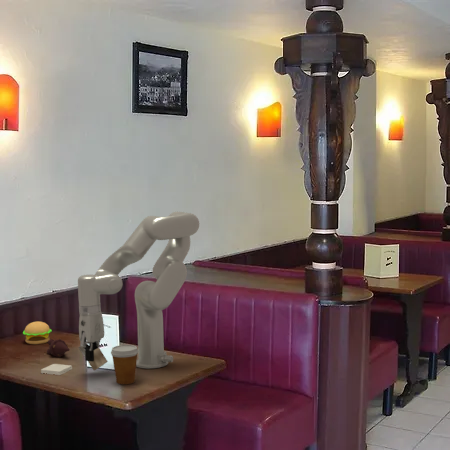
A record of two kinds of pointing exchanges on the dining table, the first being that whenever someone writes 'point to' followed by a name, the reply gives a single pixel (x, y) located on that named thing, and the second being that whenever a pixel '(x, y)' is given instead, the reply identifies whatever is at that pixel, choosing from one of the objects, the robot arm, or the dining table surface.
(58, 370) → the tile
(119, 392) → the dining table surface
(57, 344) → the icecream
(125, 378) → the disposable coffee cup
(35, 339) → the hamburger
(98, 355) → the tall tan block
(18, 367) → the dining table surface
